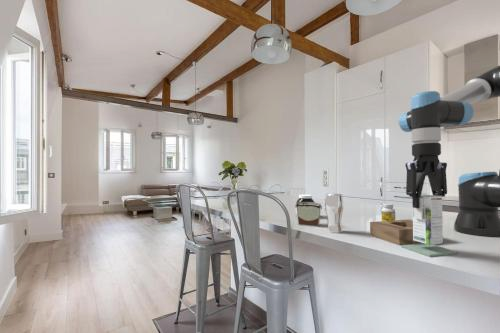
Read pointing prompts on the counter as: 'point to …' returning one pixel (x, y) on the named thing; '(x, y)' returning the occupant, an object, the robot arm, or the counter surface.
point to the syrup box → (429, 221)
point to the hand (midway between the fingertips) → (427, 218)
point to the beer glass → (334, 212)
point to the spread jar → (304, 199)
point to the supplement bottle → (388, 212)
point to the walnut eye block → (394, 231)
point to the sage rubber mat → (429, 249)
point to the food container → (308, 213)
